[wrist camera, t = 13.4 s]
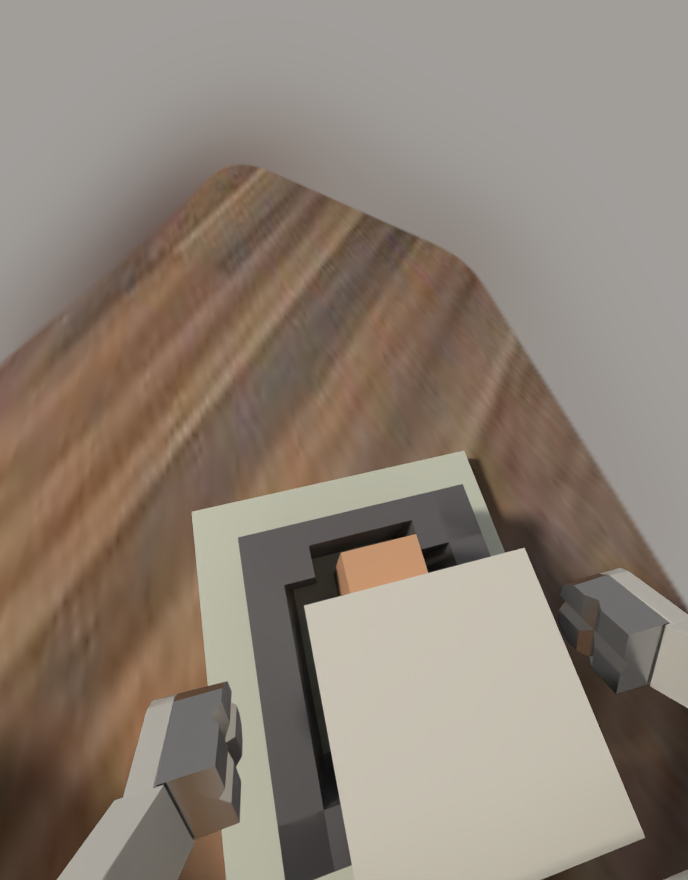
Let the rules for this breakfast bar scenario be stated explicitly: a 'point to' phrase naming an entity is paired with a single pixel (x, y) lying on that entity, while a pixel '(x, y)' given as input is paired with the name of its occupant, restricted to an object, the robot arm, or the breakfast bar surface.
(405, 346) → the breakfast bar surface
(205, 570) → the socket
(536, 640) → the cream square peg
